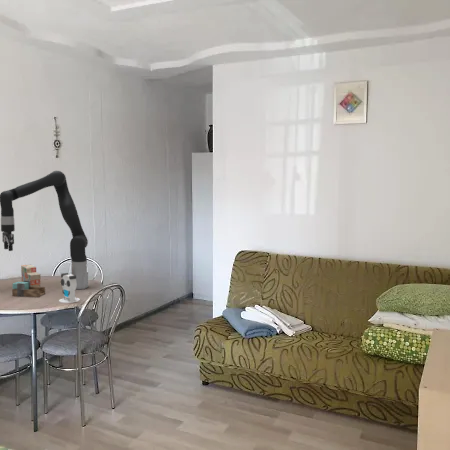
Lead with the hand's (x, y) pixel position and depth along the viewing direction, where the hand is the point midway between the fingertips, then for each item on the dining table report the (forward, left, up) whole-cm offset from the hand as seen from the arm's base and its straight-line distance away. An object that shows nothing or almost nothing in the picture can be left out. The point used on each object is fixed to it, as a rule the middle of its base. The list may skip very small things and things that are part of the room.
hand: (8, 250), depth 293 cm
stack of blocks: (-8, -11, -25) cm, 28 cm away
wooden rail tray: (-18, +11, -25) cm, 32 cm away
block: (-13, +11, -24) cm, 29 cm away
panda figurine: (-46, +19, -25) cm, 56 cm away
